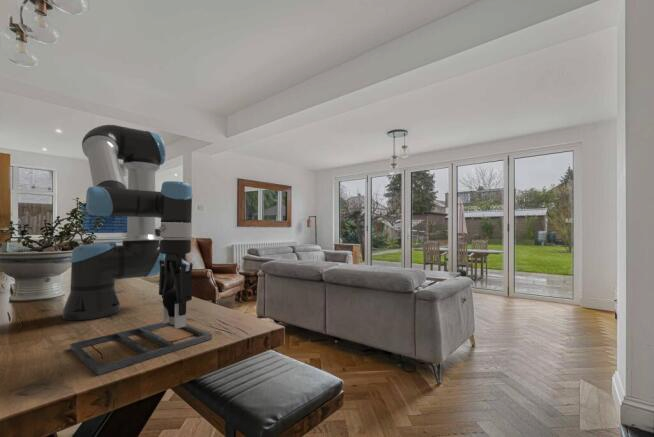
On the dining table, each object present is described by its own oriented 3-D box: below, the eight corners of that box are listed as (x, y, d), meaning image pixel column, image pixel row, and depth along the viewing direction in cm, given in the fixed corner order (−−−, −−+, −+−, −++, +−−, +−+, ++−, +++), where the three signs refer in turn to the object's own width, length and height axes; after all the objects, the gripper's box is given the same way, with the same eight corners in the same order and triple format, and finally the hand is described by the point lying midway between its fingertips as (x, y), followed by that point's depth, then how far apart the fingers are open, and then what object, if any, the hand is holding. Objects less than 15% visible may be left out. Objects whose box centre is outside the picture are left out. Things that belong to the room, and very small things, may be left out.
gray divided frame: (69, 349, 73) (69, 344, 73) (174, 323, 93) (174, 319, 93) (97, 375, 61) (98, 369, 61) (212, 338, 80) (212, 334, 80)
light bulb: (170, 330, 78) (170, 291, 79) (157, 326, 81) (158, 288, 82) (190, 324, 83) (191, 287, 84) (178, 320, 86) (178, 285, 87)
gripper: (146, 238, 86) (144, 321, 85) (179, 240, 74) (177, 336, 74) (173, 237, 92) (171, 315, 91) (207, 239, 80) (206, 328, 80)
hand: (174, 324), depth 82 cm, fingers closed on light bulb, 6 cm apart
